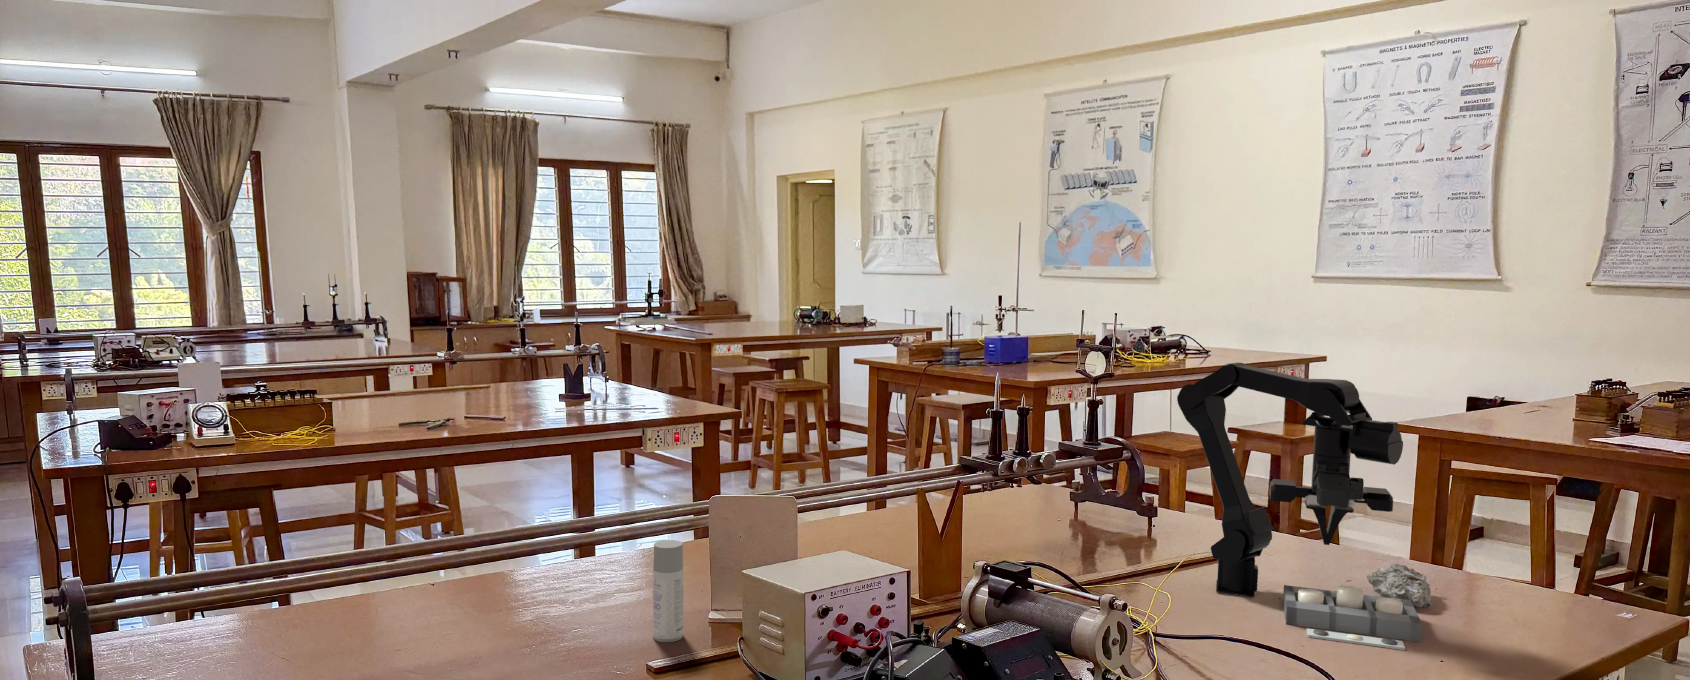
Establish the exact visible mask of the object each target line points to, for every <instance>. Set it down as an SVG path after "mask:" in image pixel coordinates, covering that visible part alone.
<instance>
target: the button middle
mask: <svg viewBox="0 0 1690 680" xmlns="http://www.w3.org/2000/svg"><path fill="white" fill-rule="evenodd" d="M1336 591H1337V599H1336V606H1338V607H1346V608H1354V609H1362V607H1363V595H1364V590H1363V589H1362V588H1359V587H1356V586H1352V585H1351V586H1350V585H1339V586H1337V587H1336Z"/></svg>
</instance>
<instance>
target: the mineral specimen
mask: <svg viewBox="0 0 1690 680" xmlns="http://www.w3.org/2000/svg"><path fill="white" fill-rule="evenodd" d="M1366 579H1367V581H1368V584H1369V583H1370V585H1371V586H1372V589H1373V592H1376V593H1377V594H1379V595H1380V596H1382V597H1388V598H1396V599H1404V600H1410V601H1411V603H1412V605H1413V607H1414V608H1422V607H1426V608H1427V607H1428V608H1431V607H1432V601H1431V599H1432V591H1431V588H1430V586H1431V585H1430V584H1429V583H1428V582H1427V576H1426V575H1425V574H1424V573H1420V572H1418V571H1416V570H1415V569H1414V568H1410V569H1409V567H1408V566H1407V565H1402V564H1400V563H1392V564H1391V563H1390V566H1389V567H1388V568H1386V567H1380V568H1376V571H1374V572H1373V571H1372V572H1371V573H1368V574H1367V575H1366Z"/></svg>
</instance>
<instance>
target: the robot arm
mask: <svg viewBox="0 0 1690 680" xmlns="http://www.w3.org/2000/svg"><path fill="white" fill-rule="evenodd" d="M1238 388H1242V389H1247V390H1251V391H1255V392H1260V393H1263V394H1267V395H1271V396H1276V397H1280V398H1284V399H1287V400H1290V401H1291V400H1292V401H1293V402H1296V403H1298V404H1300V405H1301V406H1302V407H1303V408H1305V409H1307V410H1310V411H1311V414H1310V415H1309V416H1308V417H1306V418H1305V419H1304V420H1302V421H1301V424H1302V425H1303V426H1309V427H1314V437H1313V438H1314V439H1313V451H1312V452H1313V454H1312V457H1313V458H1312V469H1311V471H1312V472H1311V487H1310V486H1309V487H1307V486H1298V485H1296V482H1295V480H1292V479H1290V480H1289V479H1279V478H1273V479H1272V480H1271V481H1270V482H1269V491H1268V494H1269V500H1270V501H1273V502H1281V503H1292V502H1293V501H1294V500H1296V498H1302V499H1304V505H1305V509H1309V510H1312V511H1313V513H1314V515H1315V518H1316V520H1317V524H1318V527H1319V531H1320V536H1321V538H1322V539H1321V540H1322V542H1323V545H1324V546H1325V545H1327V546H1330V545H1331V542H1332V540H1333V537H1334V535H1335V533H1336V531H1337V528H1338V527H1339V525H1340V523H1341V521H1342V519H1343V518H1344V517H1345V516H1346V515H1347V514H1354V512H1355V509H1354V507H1353V505H1355V503H1357V504H1366V506H1367V507H1368V508H1369V509H1370V510H1371V511H1377V512H1388V513H1390V512H1393V511H1394V510H1393V509H1394V507H1393V506H1394V497H1393V496H1392V494H1391V493H1390V491H1388V489H1387V488H1382V487H1373V486H1372V487H1370V486H1364V478H1361V477H1351V476H1350V472H1351V471H1350V469H1351V455H1354V456H1355V458H1356V459H1357V460H1358V459H1359V460H1364V461H1369V462H1370V461H1371V462H1376V463H1381V464H1382V463H1383V464H1388V465H1393V466H1394V465H1396V464H1398V463H1399V461H1400V459H1401V457H1402V453H1403V448H1404V440H1403V439H1402V434H1401V432H1400V430H1399V423H1398V422H1396V421H1379V420H1373V418H1372V416H1371V414H1370V412H1369V411H1368V410H1367V408H1366V407H1365V405H1364V404H1363V402H1362V401H1361V399H1360V394H1359V390H1358V389H1357V387H1356V385H1355V384H1354V383H1353V382H1351V381H1349V380H1347V379H1337V378H1336V379H1331V378H1305V377H1304V378H1303V377H1299V376H1296V375H1292V374H1291V375H1290V374H1287V373H1282V372H1278V371H1273V370H1269V369H1264V368H1260V367H1256V366H1253V365H1248V364H1245V363H1244V362H1237V361H1236V362H1231V363H1226V364H1224V365H1223V366H1221V367H1220V368H1218V369H1217V370H1216V371H1214V372H1212V373H1210V374H1209V375H1206V376H1205V377H1203V378H1201V379H1199V380H1197V381H1196V382H1195V383H1191V384H1186V385H1184V386H1183V387H1182V388H1180V390H1179V392H1178V394H1177V396H1176V399H1177V405H1178V407H1179V409H1180V411H1181V413H1182V414H1183V417H1184V419H1185V420H1186V421H1187V422H1188V424H1189V425H1190V426H1191V427H1192V428H1193V429H1194V431H1196V433H1197V434H1198V436H1199V439H1200V443H1201V445H1202V448H1203V451H1204V454H1205V458H1206V460H1207V463H1208V465H1209V469H1210V472H1211V474H1212V477H1213V481H1214V483H1215V484H1214V485H1216V489H1217V492H1218V495H1219V498H1220V501H1221V503H1222V507H1223V508H1222V509H1223V511H1222V517H1221V518H1222V519H1221V529H1222V535H1223V537H1221V539H1219V540H1218V541H1216V542H1215V543H1214V544H1213V545H1211V546H1210V551H1211V554H1212V555H1211V556H1212V558H1213V559H1214V560H1217V561H1218V562H1217V577H1216V579H1217V580H1216V581H1215V582H1216V583H1215V584H1216V585H1215V587H1216V589H1215V592H1216V593H1219V594H1226V595H1227V594H1228V595H1235V596H1242V597H1243V596H1244V597H1252V598H1254V597H1255V592H1257V591H1258V582H1259V581H1258V579H1259V577H1258V576H1259V566H1258V565H1257V564H1256V557H1261V555H1262V552H1263V550H1264V549H1266V548H1267V547H1269V545H1270V544H1271V541H1272V540H1273V532H1272V530H1273V529H1274V526H1273V525H1272V524H1271V522H1270V519H1269V515H1268V510H1267V508H1266V507H1262V506H1261V507H1259V508H1258V507H1257V506H1256V505H1255V504H1254V503H1253V502H1252V501H1251V499H1250V496H1249V493H1248V490H1247V487H1246V485H1245V482H1244V480H1243V476H1242V472H1241V470H1240V467H1239V465H1238V462H1237V459H1236V456H1235V452H1234V451H1233V448H1232V444H1231V441H1230V439H1229V436H1228V433H1227V429H1226V427H1225V421H1226V414H1227V407H1226V402H1225V399H1227V398H1229V397H1230V396H1231V395H1232V394H1234V392H1236V391H1237V389H1238ZM1328 506H1330V512H1329V517H1328V523H1327V517H1326V507H1328Z"/></svg>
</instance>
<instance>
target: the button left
mask: <svg viewBox="0 0 1690 680" xmlns="http://www.w3.org/2000/svg"><path fill="white" fill-rule="evenodd" d="M1313 589H1314V588H1313ZM1313 589H1300V590H1298V602H1306V603H1314V604H1322V605H1323V601H1324V594H1323V593H1322V592H1320V591H1317V590H1313Z"/></svg>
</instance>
